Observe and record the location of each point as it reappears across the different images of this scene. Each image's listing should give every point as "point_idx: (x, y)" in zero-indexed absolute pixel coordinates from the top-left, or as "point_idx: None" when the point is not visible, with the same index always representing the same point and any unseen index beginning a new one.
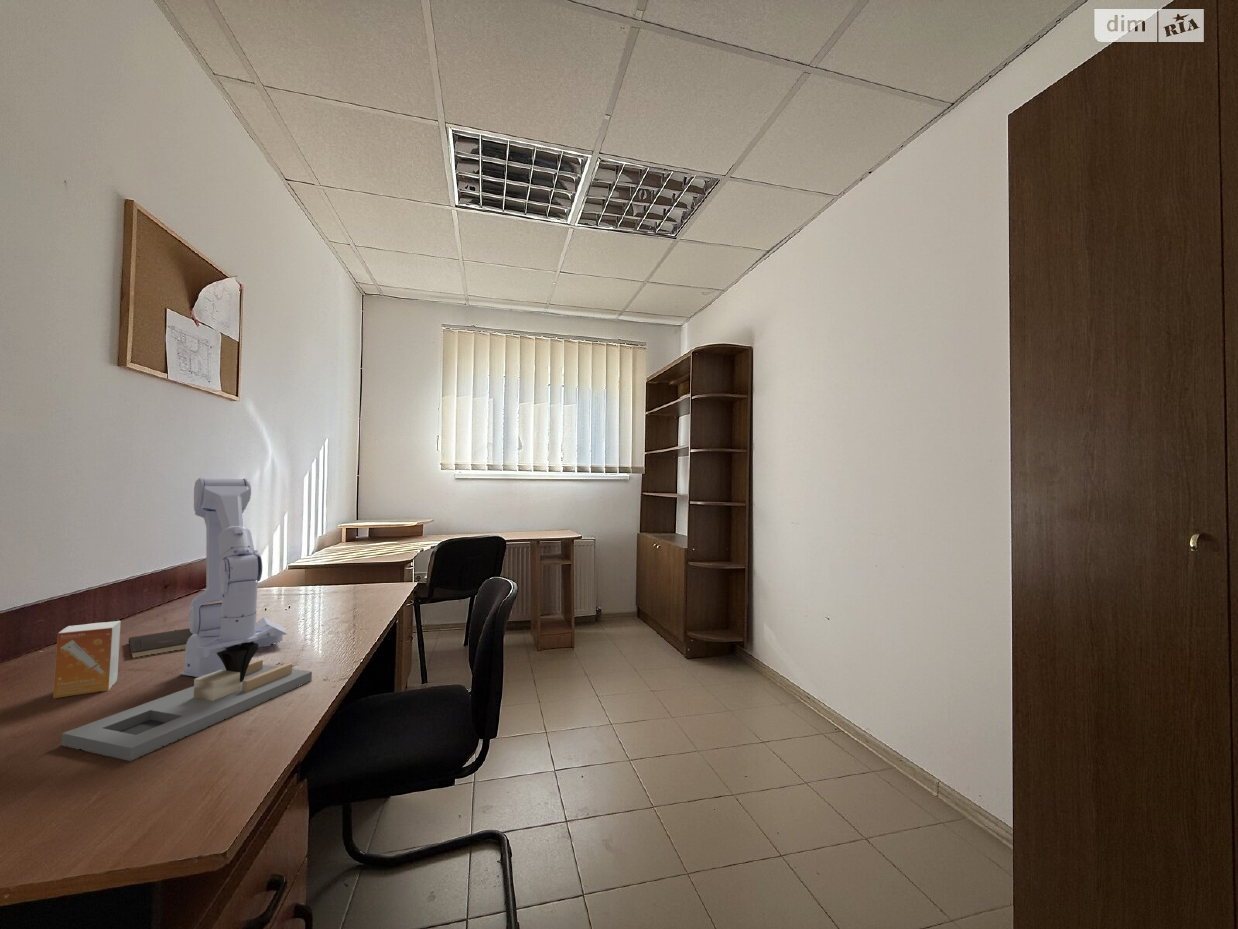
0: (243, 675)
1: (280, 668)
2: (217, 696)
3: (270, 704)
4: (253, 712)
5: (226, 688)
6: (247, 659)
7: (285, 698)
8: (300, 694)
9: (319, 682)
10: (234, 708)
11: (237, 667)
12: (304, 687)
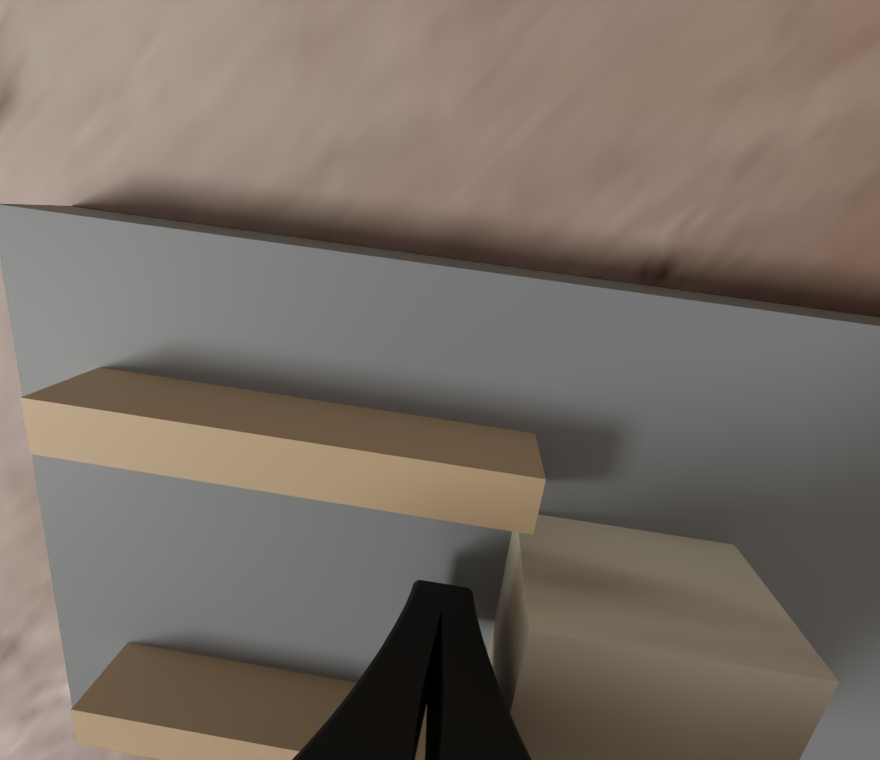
0: (420, 613)
1: (161, 418)
2: (711, 553)
3: (544, 175)
4: (705, 190)
5: (649, 567)
6: (378, 755)
7: (416, 142)
8: (315, 68)
9: (61, 107)
10: (794, 311)
11: (509, 719)
12: (187, 160)
